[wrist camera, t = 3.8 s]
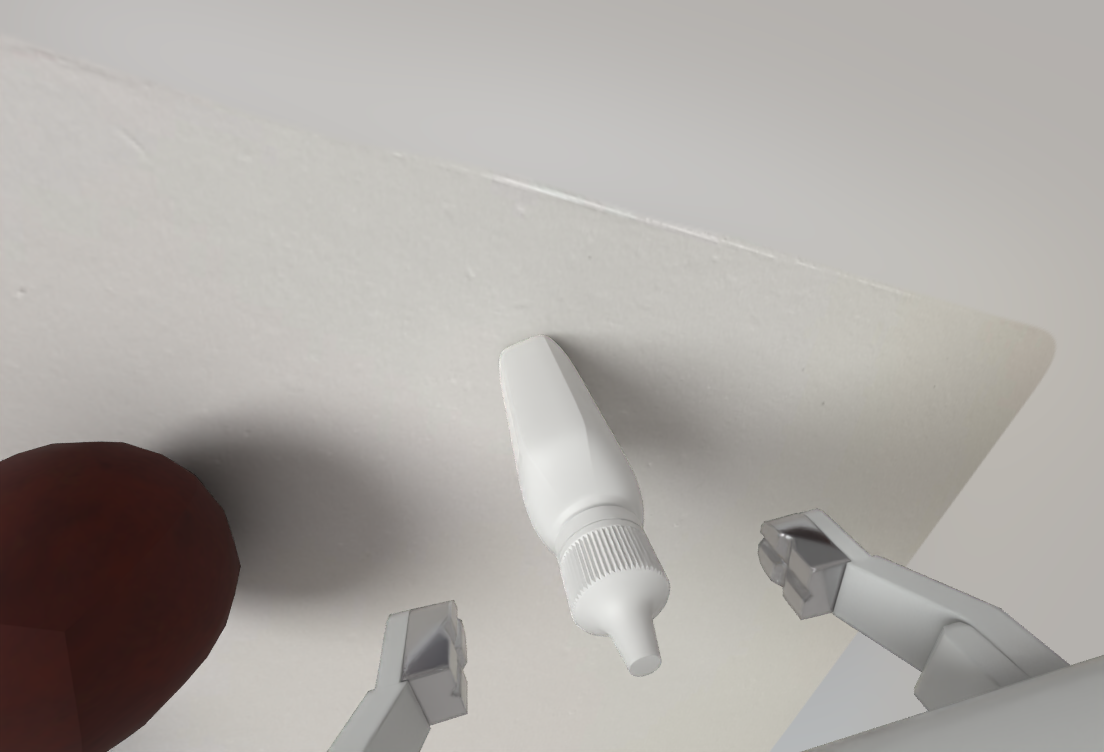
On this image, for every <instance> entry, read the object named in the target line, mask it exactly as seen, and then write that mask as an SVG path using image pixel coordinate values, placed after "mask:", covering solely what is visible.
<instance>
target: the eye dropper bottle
mask: <svg viewBox="0 0 1104 752" xmlns="http://www.w3.org/2000/svg"><path fill="white" fill-rule="evenodd" d="M499 375H500V383H501V389H502V394H503V400H504V405H505V411H506V416H507V421H508V427H509V432H510V437H511V442H512V448H513V453H514V458H515V464H516V469H517V474H518V479H519V484H520V488H521V493H522V497H523V501H524V505H525V508H526V511H527V514H528V516H529V519H530V521H531V523H532V525H533V527H534V529H535V531H536V533H537V535H538V536H539V538H540V539H541V541H542V542H543V543H544V545H545V546H546V547H547V548H548V549H549V550H550V551H551V552H552V553H553V554H554V555H555V556H556V557H557V560H558V564H559V568H560V572H561V576H562V580H563V584H564V588H565V592H566V596H567V600H568V604H569V608H570V612H571V616H572V619H573V620H574V623H576V625H577V626H578V627H579V628H581V629H582V630H583V631H585V632H587V633H590V634H593V635H597V636H610V637H611V639H612V641H613V642H614V644H615V646H616V648H617V650H618V652H619V654H620V655H621V657H622V659H623V661H624V663H625V665H626V667H627V669H628V670H629V672H630V674H631V675H633V676H637V677H640V676H646V675H649V674H651V673H653V672H654V671H656V670H657V669H658V668H659V667H660V665H661V662H662V661H661V656H660V651H659V647H658V642H657V638H656V633H655V629H654V624H653V619H654V618H655V617H656V616H657V615H658V614H659V613H660V612H661V611H662V609H663V608H664V606H665V604H666V602H667V600H668V597H669V594H670V583H669V579H668V577H667V575H666V573H665V571H664V569H663V567H662V565H661V564H660V562H659V560H658V558H657V556H656V554H655V552H654V550H653V548H652V546H651V544H650V542H649V540H648V538H647V536H646V534H645V532H644V530H643V524H644V508H643V500H642V495H641V491H640V488H639V484H638V482H637V479H636V477H635V474H634V472H633V470H632V468H631V466H630V464H629V462H628V460H627V458H626V456H625V455H624V453H623V451H622V449H621V448H620V446H619V444H618V442H617V440H616V439H615V437H614V435H613V433H612V432H611V430H610V428H609V426H608V424H607V423H606V421H605V419H604V417H603V416H602V414H601V412H600V410H599V409H598V407H597V405H596V403H595V402H594V400H593V398H592V396H591V394H590V393H589V391H588V389H587V387H586V386H585V384H584V382H583V380H582V379H581V377H580V375H579V373H578V372H577V370H576V368H575V366H574V365H573V363H572V362H571V360H570V359H569V357H568V356H567V355H566V353H565V352H564V351H563V350H562V349H561V347H560V346H559V345H558V344H557V343H556V342H555V341H553V340H552V339H551V338H550V337H548V336H545V335H536V336H533V337H531V338H528V339H526V340H523V341H521V342H519V343H516V344H514V345H512V346H509V347H507V348H506V349H505V350H504V351H502V353H501V355H500V358H499Z"/></svg>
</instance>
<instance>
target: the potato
mask: <svg viewBox="0 0 1104 752" xmlns="http://www.w3.org/2000/svg"><path fill="white" fill-rule="evenodd" d="M240 567H241V565H240V562H239V558H238V554H237V550H236V546H235V542H234V539H233V536H232V533H231V530H230V527H229V524H228V521H227V518H226V515H225V512H224V510H223V509H222V507H221V506H220V505H219V504H218V503H217V501H216V500H215V499H214V498H213V496H212V495H211V494H210V493H209V492H208V490H207V489H206V488H205V487H204V485H203V484H202V483H201V482H200V481H199V479H198V478H197V477H196V476H195V475H194V474H193V473H191V472H190V471H188V470H186V469H185V468H183V467H182V466H180V465H178V464H177V463H175V462H174V461H172V460H170V459H168V458H167V457H165V456H163V455H161V454H158V453H155V452H152V451H149V450H146V449H142V448H139V447H136V446H133V445H130V444H126V443H123V442H80V443H56V444H50V445H46V446H43V447H39V448H36V449H32V450H29V451H25V452H22V453H18V454H16V455H14V456H11V457H9V458H7V459H5V460H2V461H0V752H107V751H109V750H110V749H112V748H113V747H115V746H116V745H117V744H119V743H120V742H122V741H123V740H125V739H126V738H128V737H129V736H130V735H132V734H133V733H134V732H136V731H137V730H138V729H140V728H141V727H142V726H144V725H145V724H146V723H147V722H148V721H149V720H150V719H151V718H152V717H153V716H154V714H155V713H156V712H157V711H158V710H159V709H160V708H161V707H162V706H163V705H164V704H165V703H166V702H167V701H168V700H169V699H170V698H171V697H172V696H173V695H174V694H175V693H176V692H177V691H178V690H179V689H180V688H181V687H182V686H183V685H184V684H185V682H186V681H187V680H188V679H189V678H190V677H191V675H192V674H193V673H194V672H195V671H196V670H197V668H198V667H199V666H200V665H201V664H202V662H203V661H204V660H205V659H206V658H207V656H208V655H209V653H210V651H211V650H212V648H213V646H214V645H215V643H216V641H217V639H218V638H219V636H220V634H221V633H222V631H223V629H224V627H225V626H226V623H227V620H228V616H229V613H230V609H231V606H232V602H233V599H234V596H235V591H236V586H237V581H238V577H239V572H240Z"/></svg>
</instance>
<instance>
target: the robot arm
mask: <svg viewBox="0 0 1104 752" xmlns="http://www.w3.org/2000/svg"><path fill="white" fill-rule="evenodd" d="M760 532H761V534H762V535H763V536H764V538H763V539H762V541H761V542H760V543H759V544H758V556H759V560H760V564H761V566H762V568H763V569H764V571H765V573H766V574H767V576H768V577H769V578H770V580H771V581H772V582H774V583H776V584H778V585H780V586H782V587H783V597H784V598H785V600H786V601H787V602H788V604H789V605H790V606H791V608H792V609H793V610H794V612H795V613H796V614H797V615H798V617H799V618H800V619H801V620H803V619H807V618H812V617H816V616H820V615H824V614H828V613H832V612H833V615H835V616H836V617H838V618H839V619H841V620H842V621H844V622H845V623H847V624H848V625H850V626H851V627H853V628H855V629H856V630H858V631H859V632H861V633H862V634H864V635H865V636H867V637H868V638H870V639H871V640H873V641H875V642H876V643H878V644H879V645H881V646H882V647H884V648H885V649H887V650H889V651H890V652H891V653H893V654H894V655H896V656H898V657H899V658H901V659H902V660H904V661H905V662H907V663H908V664H910V665H911V666H913V667H915V668H916V669H918V670H919V671H921V672H922V673H921V675H920V677H919V679H918V681H917V683H916V685H915V687H914V695H915V696H916V697H917V699H918V700H919V701H920V702H921V703H922V704H923V706H924V707H925V708H926V709H927V710H928V711H927V712H924V713H920V714H917V715H914V716H911V717H908V718H905V719H902V720H899V721H895V722H892V723H889V724H886V725H883V726H880V727H877V728H874V729H870V730H867V731H864V732H861V733H858V734H855V735H852V736H849V737H846V738H842V739H839V740H836V741H833V742H830V743H827V744H824V745H820V746H817V747H814V748H812V749H808V750H805V751H802V752H1104V655H1102V656H1099V657H1096V658H1092V659H1089V660H1086V661H1083V662H1080V663H1077V664H1074V665H1070V664H1068V663H1067V662H1066V661H1065V660H1063V659H1062V658H1061V657H1060V656H1058V655H1057V654H1056V653H1055V652H1054V651H1052V650H1051V649H1050V648H1049V647H1047V646H1046V645H1045V644H1044V643H1043V642H1041V641H1040V640H1039V639H1038V638H1036V637H1035V636H1034V635H1033V634H1031V633H1030V632H1029V631H1028V630H1026V629H1025V628H1024V627H1023V626H1022V625H1020V624H1019V623H1018V622H1017V621H1015V620H1014V619H1013V618H1012V617H1011V616H1009V615H1008V614H1007V613H1006V612H1004V611H1003V610H1002V609H1001V608H999V607H996V606H994V605H992V604H990V603H987V602H985V601H983V600H980V599H978V598H976V597H973V596H971V595H969V594H966V593H964V592H962V591H959V590H957V589H955V588H952V587H950V586H948V585H946V584H943V583H941V582H939V581H936V580H934V579H931V578H929V577H927V576H925V575H922V574H920V573H918V572H915V571H913V570H911V569H908V568H906V567H904V566H902V565H899V564H897V563H895V562H892V561H890V560H888V559H885V558H883V557H881V556H878V555H874V556H871V555H870V554H869V553H868V552H867V551H866V550H865V549H863V548H862V547H861V546H860V545H859V544H858V543H857V542H856V541H855V540H854V539H853V538H852V537H851V536H850V535H848V534H847V533H846V532H845V531H844V530H843V529H842V528H841V527H840V526H839V525H838V524H837V523H836V522H834V521H833V520H832V519H831V518H830V517H829V516H828V515H827V514H826V513H825V512H824V511H822V510H820V509H818V508H817V509H812V510H809V511H805V512H801V513H795V514H791V515H787V516H784V517H780V518H776V519H772V520H769V521H765V522H764V523H763V524H762V525H761V531H760ZM466 663H467V645H466V636H465V631H464V626H463V623H462V620H460V619H458V618H457V606H456V603H455V601H454V600H451V601H447V602H442V603H438V604H433V605H429V606H424V607H420V608H415V609H411V610H406V611H402V612H398V613H394V614H390V615H389V618H388V620H387V622H386V628H385V633H384V639H383V645H382V651H381V657H380V663H379V669H378V675H377V680H376V686H375V689H373V690H370V691H368V692H367V694H366V695H365V697H364V698H363V700H362V701H361V703H360V704H359V705H358V707H357V708H356V710H355V711H354V713H353V714H352V716H351V717H350V719H349V720H348V722H347V723H346V725H345V726H344V727H343V729H342V730H341V732H340V733H339V735H338V736H337V738H336V739H335V741H334V742H333V744H332V745H331V747H330V748H329V749H328V751H327V752H420V750H421V748H422V746H423V744H424V741H425V739H426V737H427V735H428V733H429V731H430V725H433V724H437V723H440V722H443V721H446V720H449V719H453V718H456V717H459V716H462V715H465V714H468V705H467V680H466V677H465V674H464V671H463V669H464V667H465V665H466Z"/></svg>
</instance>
